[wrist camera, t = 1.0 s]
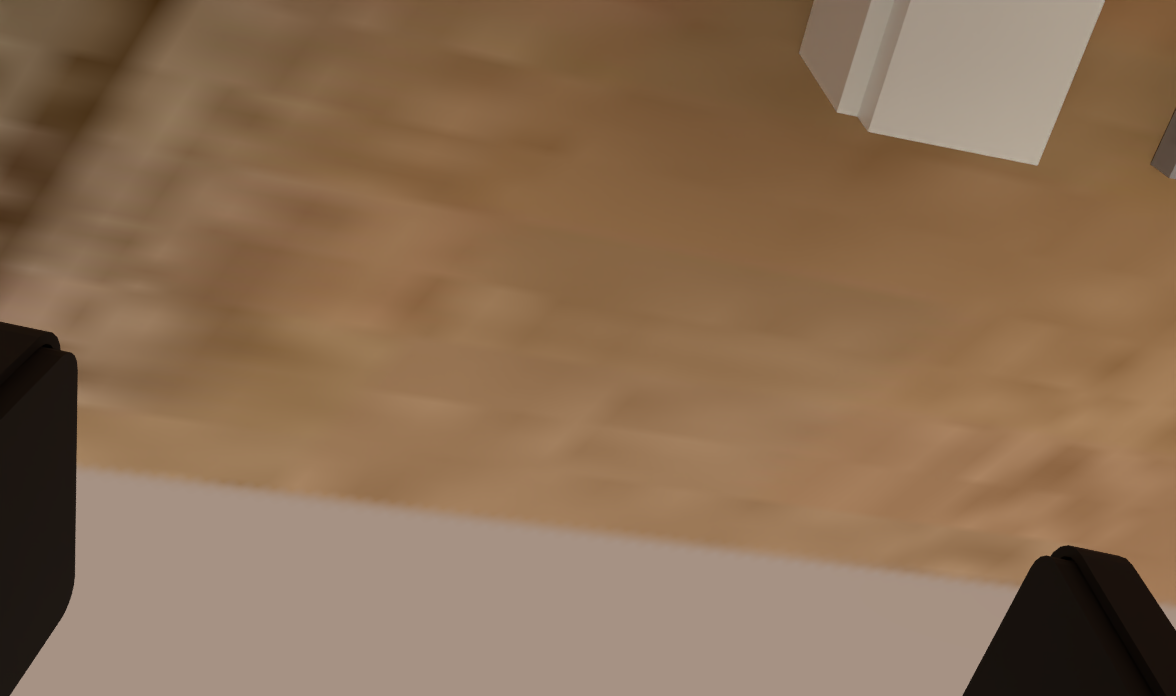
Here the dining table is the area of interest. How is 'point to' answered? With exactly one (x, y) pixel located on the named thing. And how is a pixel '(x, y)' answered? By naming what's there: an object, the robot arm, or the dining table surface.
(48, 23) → the dining table surface
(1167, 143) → the pink toy truck
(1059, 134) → the dining table surface
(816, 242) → the dining table surface
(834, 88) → the stepped cream block
